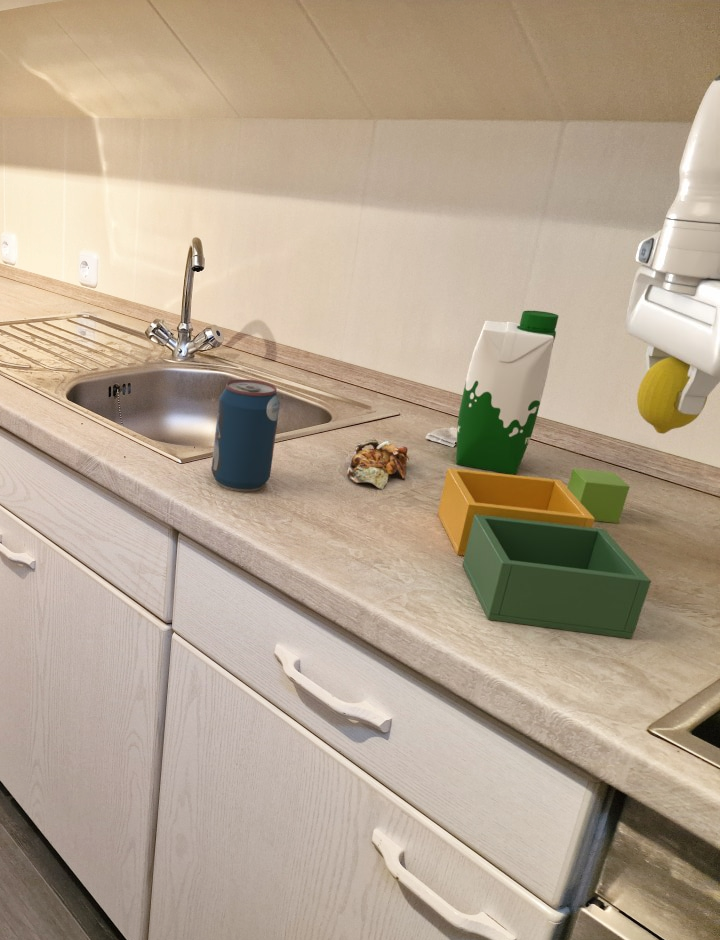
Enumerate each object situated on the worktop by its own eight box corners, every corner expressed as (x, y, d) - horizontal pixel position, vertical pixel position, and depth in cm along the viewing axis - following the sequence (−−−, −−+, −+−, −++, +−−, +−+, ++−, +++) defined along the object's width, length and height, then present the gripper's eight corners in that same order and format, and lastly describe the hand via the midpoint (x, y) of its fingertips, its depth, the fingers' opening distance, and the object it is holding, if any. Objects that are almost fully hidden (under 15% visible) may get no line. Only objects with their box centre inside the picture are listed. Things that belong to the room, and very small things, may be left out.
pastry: (341, 482, 104) (345, 455, 102) (353, 453, 114) (358, 428, 113) (401, 494, 101) (407, 465, 100) (409, 463, 111) (414, 437, 110)
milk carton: (523, 479, 108) (563, 321, 100) (447, 465, 111) (480, 312, 104) (523, 458, 115) (560, 310, 108) (451, 446, 119) (483, 302, 111)
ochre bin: (547, 526, 94) (560, 479, 92) (580, 570, 84) (595, 518, 82) (437, 513, 96) (447, 467, 94) (457, 555, 86) (468, 504, 84)
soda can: (280, 487, 101) (294, 389, 97) (238, 498, 98) (251, 397, 93) (239, 468, 107) (251, 375, 102) (198, 478, 103) (208, 381, 98)
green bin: (588, 581, 82) (604, 528, 80) (632, 639, 72) (651, 581, 70) (461, 565, 84) (474, 513, 82) (487, 619, 74) (502, 562, 72)
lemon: (625, 421, 87) (646, 344, 84) (689, 430, 84) (714, 351, 82) (630, 436, 82) (654, 355, 79) (699, 446, 80) (725, 362, 77)
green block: (603, 508, 100) (614, 472, 98) (618, 523, 96) (629, 486, 94) (562, 503, 101) (572, 468, 99) (575, 518, 96) (586, 481, 95)
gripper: (821, 272, 67) (764, 438, 72) (699, 245, 86) (661, 378, 91) (732, 267, 68) (682, 431, 73) (631, 242, 87) (596, 374, 92)
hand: (669, 402), depth 82 cm, fingers closed on lemon, 5 cm apart
